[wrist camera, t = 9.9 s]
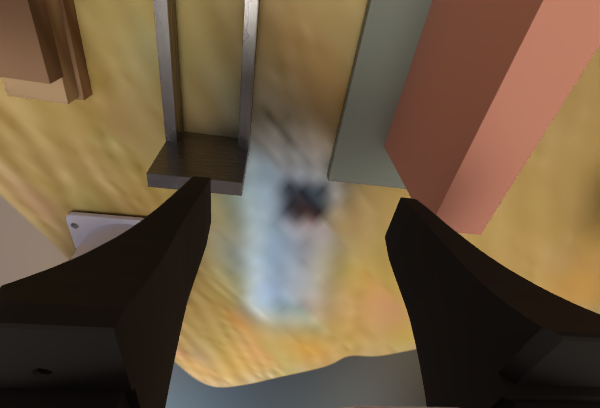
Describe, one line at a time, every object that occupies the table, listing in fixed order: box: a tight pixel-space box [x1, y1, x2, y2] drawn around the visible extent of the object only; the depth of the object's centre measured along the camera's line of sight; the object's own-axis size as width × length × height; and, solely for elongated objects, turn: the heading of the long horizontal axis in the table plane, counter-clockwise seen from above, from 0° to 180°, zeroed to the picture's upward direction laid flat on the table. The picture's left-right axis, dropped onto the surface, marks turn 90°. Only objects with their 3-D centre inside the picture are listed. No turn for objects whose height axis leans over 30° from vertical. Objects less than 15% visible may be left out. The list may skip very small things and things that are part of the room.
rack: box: [146, 0, 260, 196], centre depth 15 cm, size 14×5×5 cm, turn 171°
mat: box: [327, 0, 432, 189], centre depth 19 cm, size 16×8×1 cm, turn 171°
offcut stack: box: [0, 0, 92, 104], centre depth 15 cm, size 8×3×4 cm, turn 170°
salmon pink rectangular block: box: [384, 0, 600, 235], centre depth 15 cm, size 10×2×8 cm, turn 171°
